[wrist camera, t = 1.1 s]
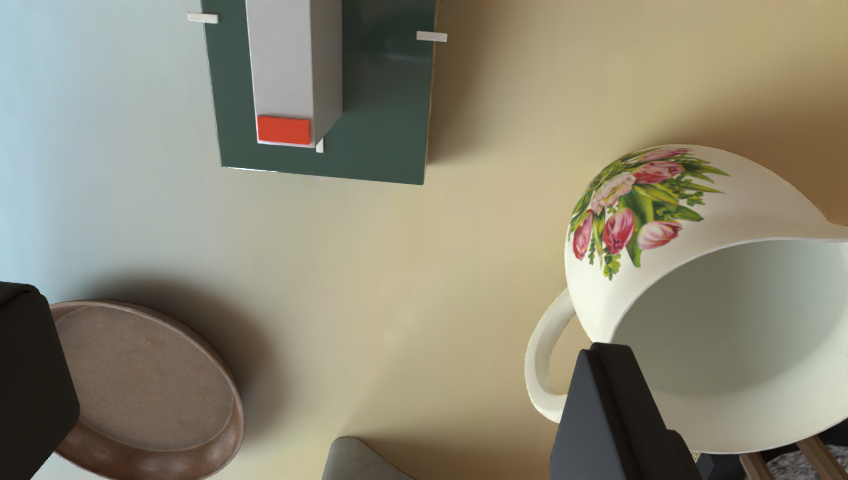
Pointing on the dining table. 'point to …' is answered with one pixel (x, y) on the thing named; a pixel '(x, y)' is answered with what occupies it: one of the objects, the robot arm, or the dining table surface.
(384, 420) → the dining table surface
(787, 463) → the lantern
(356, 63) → the plate
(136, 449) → the plant saucer
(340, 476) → the hip flask
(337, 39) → the tap handle
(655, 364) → the pitcher
